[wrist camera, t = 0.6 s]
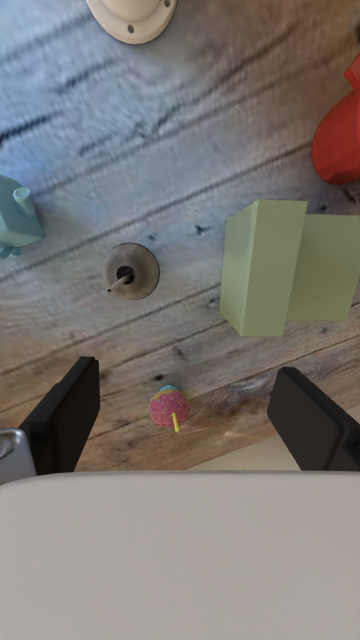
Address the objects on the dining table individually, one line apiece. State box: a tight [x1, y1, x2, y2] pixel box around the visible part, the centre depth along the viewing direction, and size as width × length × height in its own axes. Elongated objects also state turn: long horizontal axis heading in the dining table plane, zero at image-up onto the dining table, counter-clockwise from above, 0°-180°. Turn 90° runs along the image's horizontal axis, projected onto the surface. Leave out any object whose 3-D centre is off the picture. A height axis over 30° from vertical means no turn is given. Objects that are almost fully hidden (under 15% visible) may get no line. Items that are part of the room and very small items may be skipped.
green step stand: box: [219, 199, 360, 337], centre depth 32 cm, size 22×17×13 cm
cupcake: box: [149, 385, 190, 433], centre depth 40 cm, size 9×8×12 cm
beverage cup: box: [102, 243, 160, 300], centre depth 27 cm, size 7×7×20 cm
